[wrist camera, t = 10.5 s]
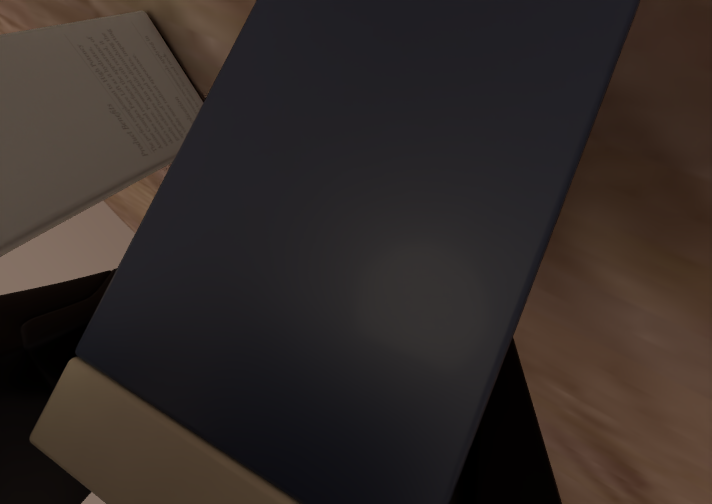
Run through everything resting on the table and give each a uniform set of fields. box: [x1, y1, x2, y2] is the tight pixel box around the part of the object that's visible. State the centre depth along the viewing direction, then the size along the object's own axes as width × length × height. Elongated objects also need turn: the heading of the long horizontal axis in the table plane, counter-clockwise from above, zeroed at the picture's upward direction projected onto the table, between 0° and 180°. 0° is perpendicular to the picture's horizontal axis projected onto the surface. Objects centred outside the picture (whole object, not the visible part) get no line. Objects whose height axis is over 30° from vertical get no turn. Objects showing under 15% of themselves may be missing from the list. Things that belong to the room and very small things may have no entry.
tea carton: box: [29, 0, 640, 504], centre depth 8 cm, size 12×5×6 cm
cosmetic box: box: [0, 11, 203, 257], centre depth 15 cm, size 6×4×12 cm
